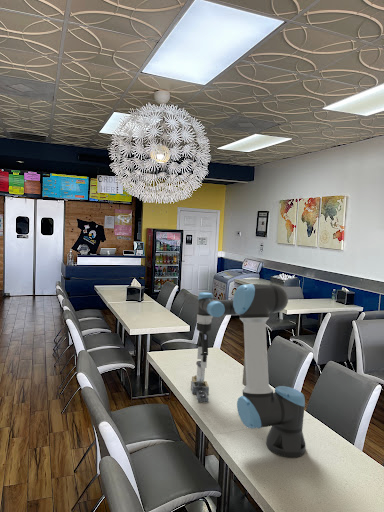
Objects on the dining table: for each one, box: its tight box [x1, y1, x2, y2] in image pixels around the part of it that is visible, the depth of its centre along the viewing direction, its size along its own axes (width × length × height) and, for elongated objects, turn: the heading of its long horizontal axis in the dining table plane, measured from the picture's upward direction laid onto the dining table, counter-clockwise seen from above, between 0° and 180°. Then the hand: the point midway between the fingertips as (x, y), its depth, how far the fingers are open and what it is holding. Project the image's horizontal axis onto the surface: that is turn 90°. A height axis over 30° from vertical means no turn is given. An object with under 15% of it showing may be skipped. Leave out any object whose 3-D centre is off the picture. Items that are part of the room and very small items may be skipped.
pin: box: [196, 360, 206, 386], centre depth 203 cm, size 5×5×15 cm
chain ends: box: [190, 374, 210, 403], centre depth 204 cm, size 27×8×4 cm, turn 7°
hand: (201, 363), depth 202 cm, fingers open, 13 cm apart
